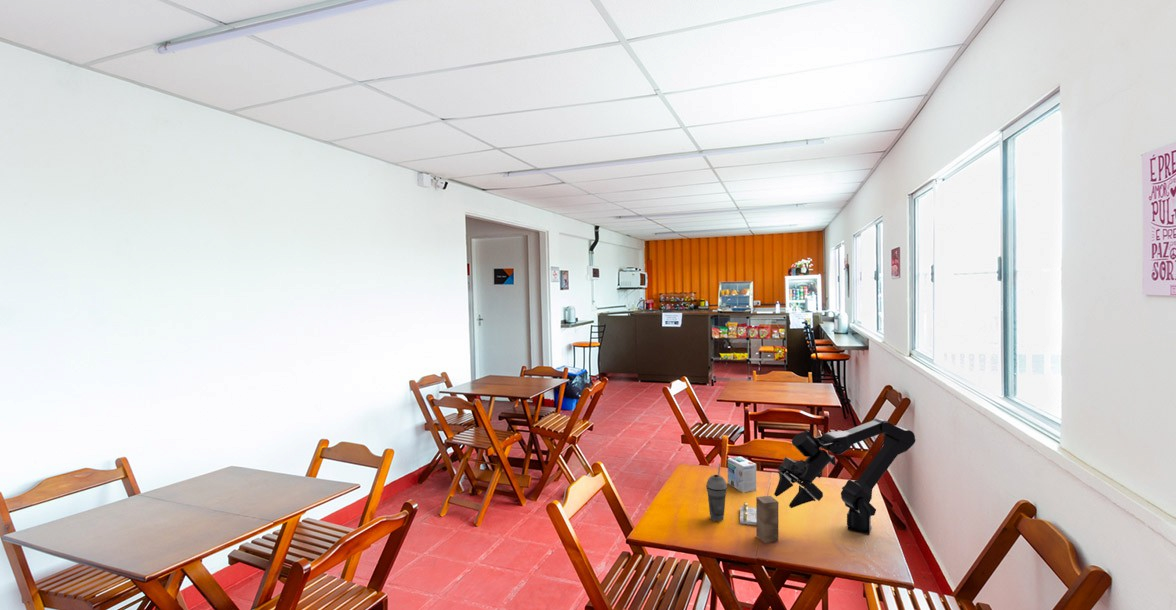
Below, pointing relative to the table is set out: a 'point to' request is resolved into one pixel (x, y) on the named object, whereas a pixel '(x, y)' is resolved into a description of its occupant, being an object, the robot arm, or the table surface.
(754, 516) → the plate
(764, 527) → the walnut block
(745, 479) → the light bulb box
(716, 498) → the beverage cup
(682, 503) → the table surface
